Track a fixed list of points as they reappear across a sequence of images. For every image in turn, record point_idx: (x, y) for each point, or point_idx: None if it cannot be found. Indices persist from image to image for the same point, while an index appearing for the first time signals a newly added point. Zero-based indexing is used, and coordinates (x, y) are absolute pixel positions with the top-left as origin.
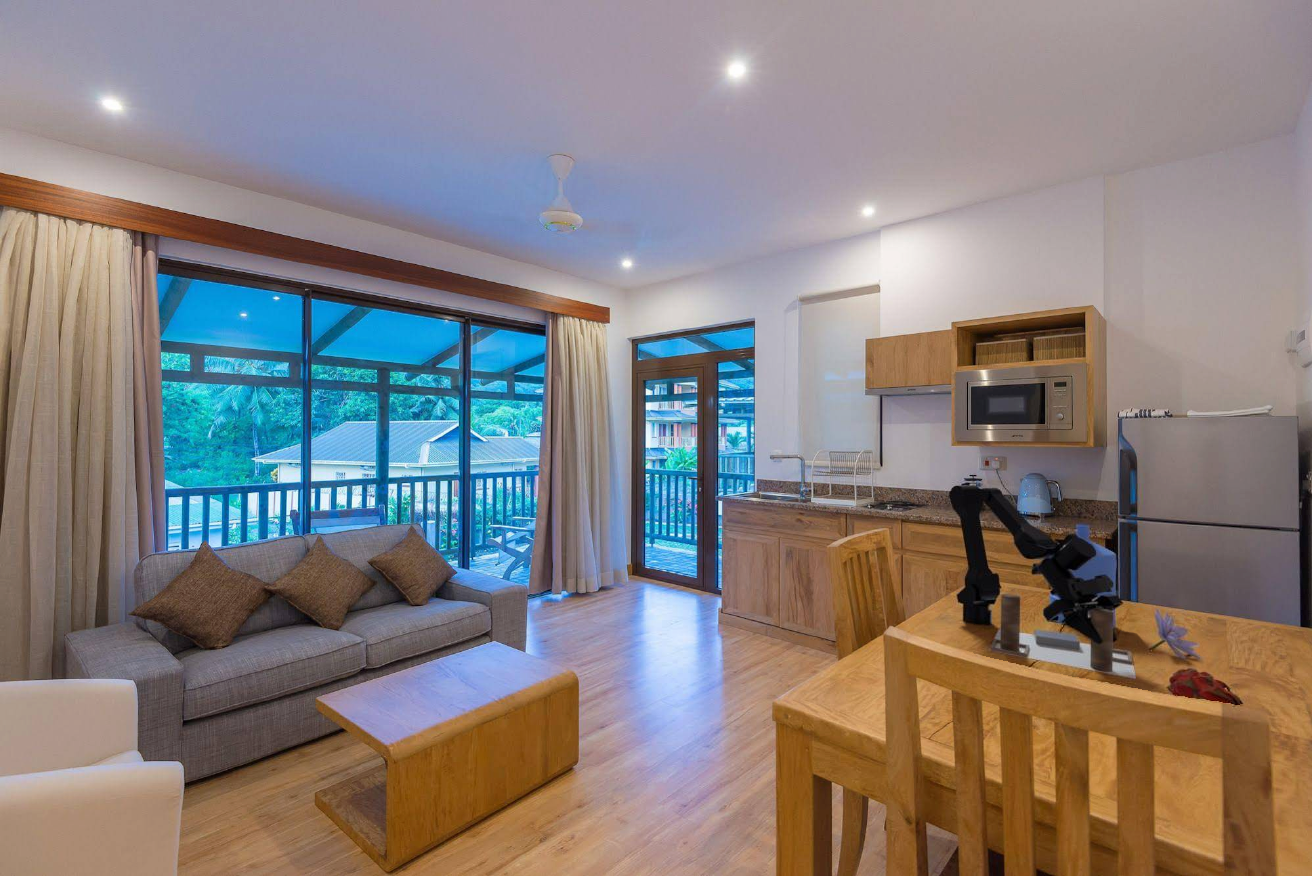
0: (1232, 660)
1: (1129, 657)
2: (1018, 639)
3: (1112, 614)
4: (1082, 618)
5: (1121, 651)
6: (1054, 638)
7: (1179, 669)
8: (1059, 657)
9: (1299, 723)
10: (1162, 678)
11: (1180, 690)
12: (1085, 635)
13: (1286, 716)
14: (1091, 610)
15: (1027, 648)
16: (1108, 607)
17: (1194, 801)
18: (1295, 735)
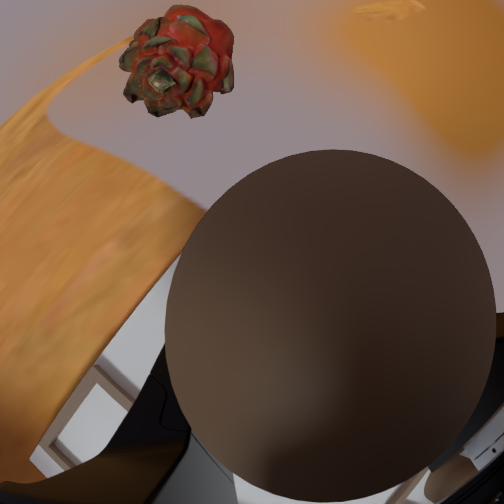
0: None
1: (73, 402)
2: (464, 474)
3: (265, 178)
4: (501, 316)
5: (61, 458)
6: None
7: (178, 56)
8: None
9: (62, 76)
10: (70, 282)
11: (230, 58)
12: None
13: (48, 95)
14: (483, 370)
15: (417, 479)
16: (70, 501)
17: (392, 5)
18: (121, 42)
